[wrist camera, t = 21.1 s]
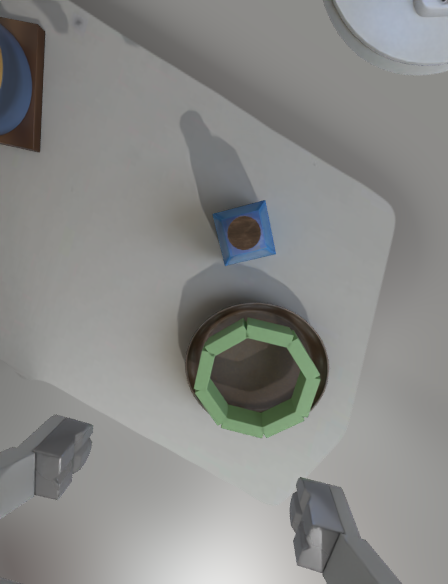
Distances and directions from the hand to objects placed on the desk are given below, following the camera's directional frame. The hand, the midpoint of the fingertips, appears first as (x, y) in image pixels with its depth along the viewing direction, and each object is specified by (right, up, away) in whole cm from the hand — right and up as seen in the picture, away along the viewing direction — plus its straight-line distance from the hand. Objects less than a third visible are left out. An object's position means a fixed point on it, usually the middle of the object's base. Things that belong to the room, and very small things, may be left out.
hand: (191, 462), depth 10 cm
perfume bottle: (+4, +15, +26) cm, 30 cm away
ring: (+6, -5, +25) cm, 26 cm away
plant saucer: (+6, -4, +30) cm, 31 cm away
